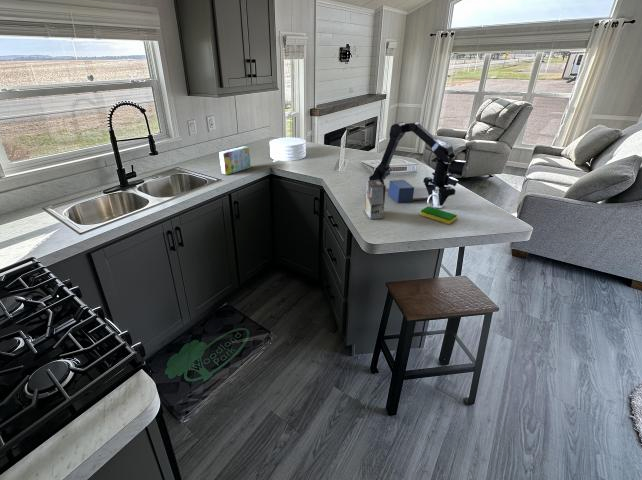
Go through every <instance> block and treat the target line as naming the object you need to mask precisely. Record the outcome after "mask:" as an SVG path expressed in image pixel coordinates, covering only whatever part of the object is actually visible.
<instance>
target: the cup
mask: <svg viewBox="0 0 642 480" xmlns="http://www.w3.org/2000/svg"><path fill="white" fill-rule="evenodd" d="M439 189H440V188H437V189H435V190H433V194H431V195H430V196H429V197H428V199H426V200H427V201H426V203H427V205H428V206H429V207H432V208H436V209H442V208H444V207H443V206H444V205H442V206H440V203H439V196H438V193H439ZM431 196H433V199H432V204H433V205H432V204H430V200H431V199H430V197H431Z"/></svg>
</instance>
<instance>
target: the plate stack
mask: <svg viewBox="0 0 642 480" xmlns="http://www.w3.org/2000/svg"><path fill="white" fill-rule="evenodd" d="M306 143H307V141H306V139H304V138H301V137H292V136H291V137H288V136H287V137H278V138H274V139H271V140H270V141H269V154H270V155H269V156H270V159H273V160H275V161H281V162H289V161H290V162H291V161H299V160H302V159H304V158H306V156H307V150H306V149H307V144H306Z"/></svg>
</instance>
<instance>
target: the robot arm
mask: <svg viewBox="0 0 642 480" xmlns="http://www.w3.org/2000/svg"><path fill="white" fill-rule="evenodd" d="M411 132H413V134H415V135H416V136H417V137H418V138H419V139H420V140H422V141H423V142H424V143H425V144H426V145H428V146H429V147H430V148H431V151H432V153H433V154H434V156H435V157H434V158H433V159H431V162H433V163H435V166H434V172H431V175H432V176H425V177H424V178H423V182H422V183H424V187H425V188H427V191H428V194H429V196H430V195H431V194H433V190H435V188H437V189H439V193H438V196H439V203H440V206H444V205H445V202H446V201H447V199H448V198H449V197H450V196H455V195H456V189H455V188H454V187H456V186H457V184H458V182H459V180H458V179H456V178H454V177H453V176H459V177H464V176H465V175H466V174H467V171H468V165H467V161H466V160H457V157H456V154H455V152H454V148H453V146H452V145H450V144H448V143H447V142H445V141H443V140H440V139H439V138H437V137H436V136H435V135H433V134H432V133H431V132H430V131H429V130H428V129H426V128H425V127H424V126H423V125H422V124H421V123H420V122H418V121H415V122H409V123H405V122H403V121H401V122H397V123H394V124H391V126H390V129H389V139H388V143H387V146H386V149H385V150H384V153H383V156H382V158H381V160H380V163H379V164H378V165H377V167H376V168H375V169H374V171H373V174H371V175H370V176H369V177H368V179H369V180H368V181H371V180H380V181H381V182H382V183H383V184H384V185H385V180H386V179H387V177H388V176H390V175H391V171H392V169H393V168H392V167H391V165H390V164H391V162H392V160H393V157H394V154H395V152H396V150H397V147H398V144H399V142H400V141H401V140H402V138H403V137H404V136H405V135H406V133H411ZM452 175H453V176H452ZM449 185H450V186H449ZM452 186H453V187H452ZM430 198H433V196H431V197H430Z"/></svg>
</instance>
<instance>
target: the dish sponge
mask: <svg viewBox="0 0 642 480" xmlns="http://www.w3.org/2000/svg"><path fill="white" fill-rule="evenodd" d="M419 216H423V217H426V218H429V219H432V220H435V221H437V222H441V223H443V224H447V225H450V224H452V223H453V222H455V221H456V220H457V217H458V215H457V214H455V213H451V212H448V211H445V210H442V209H440V208H435V207H431V206H430V205H428V206H426V207H424V208H422V209H421V210H420V215H419Z"/></svg>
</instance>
